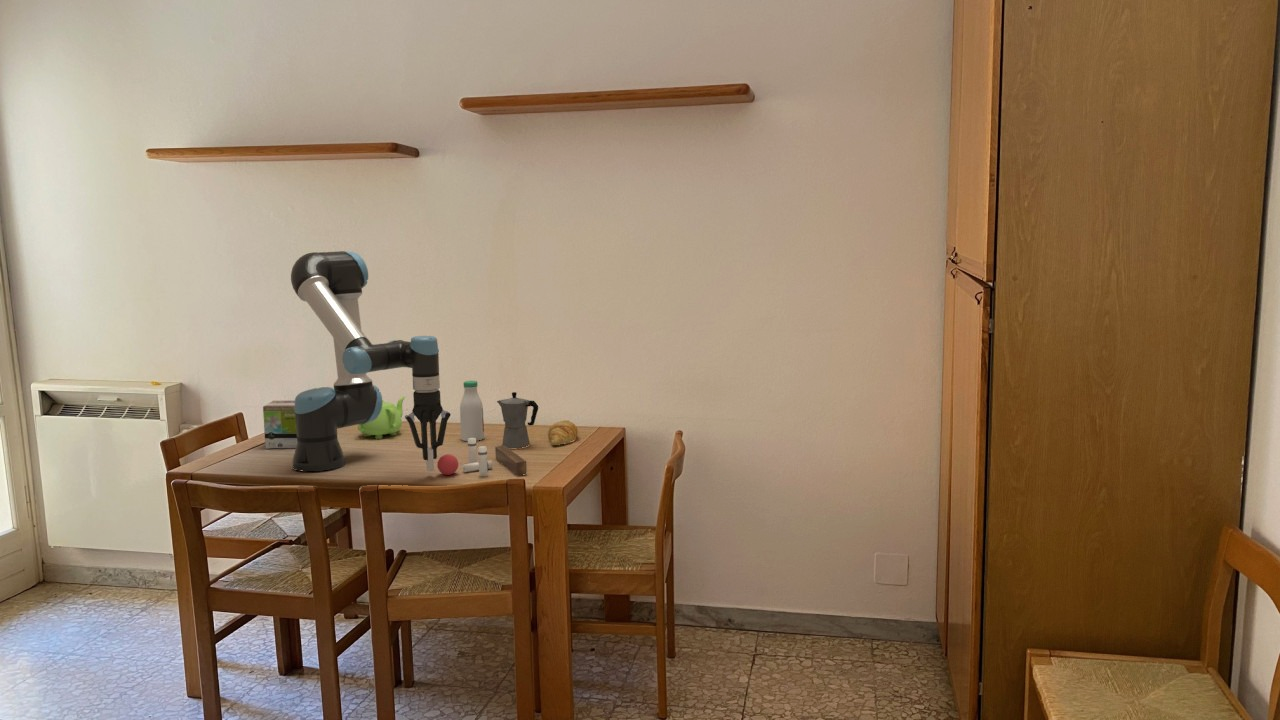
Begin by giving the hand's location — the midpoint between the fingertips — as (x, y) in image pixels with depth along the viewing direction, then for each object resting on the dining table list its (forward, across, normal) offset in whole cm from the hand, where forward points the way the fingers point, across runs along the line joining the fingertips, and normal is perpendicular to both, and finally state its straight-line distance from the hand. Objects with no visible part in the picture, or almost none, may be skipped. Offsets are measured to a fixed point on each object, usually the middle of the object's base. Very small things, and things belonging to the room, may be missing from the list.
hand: (430, 470), depth 270 cm
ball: (-1, +5, 0) cm, 5 cm away
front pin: (+1, +10, 0) cm, 10 cm away
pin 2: (+2, +14, -6) cm, 15 cm away
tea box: (+2, -33, +61) cm, 69 cm away
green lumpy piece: (+2, -3, +63) cm, 63 cm away
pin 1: (+2, +14, +6) cm, 15 cm away
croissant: (+2, +50, +25) cm, 56 cm away
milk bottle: (+2, +23, +41) cm, 47 cm away
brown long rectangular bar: (+2, +24, 0) cm, 24 cm away
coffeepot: (+2, +34, +24) cm, 42 cm away
